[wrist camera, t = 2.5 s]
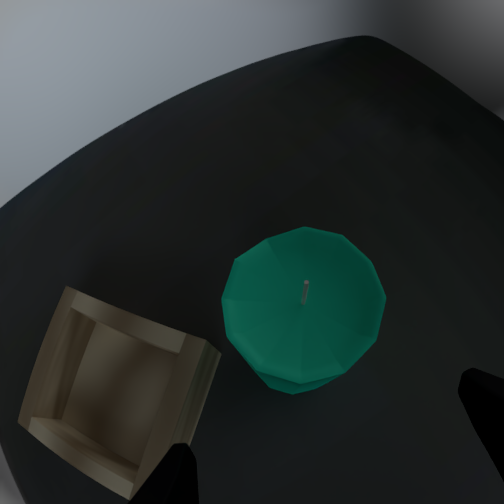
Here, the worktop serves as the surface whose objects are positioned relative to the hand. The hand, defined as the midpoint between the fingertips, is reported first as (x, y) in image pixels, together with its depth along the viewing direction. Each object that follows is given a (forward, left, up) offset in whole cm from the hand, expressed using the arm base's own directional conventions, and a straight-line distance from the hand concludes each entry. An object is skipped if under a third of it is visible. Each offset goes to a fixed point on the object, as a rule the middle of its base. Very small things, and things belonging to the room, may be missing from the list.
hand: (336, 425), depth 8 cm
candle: (+2, -4, -12) cm, 12 cm away
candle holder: (+12, +3, -11) cm, 17 cm away
